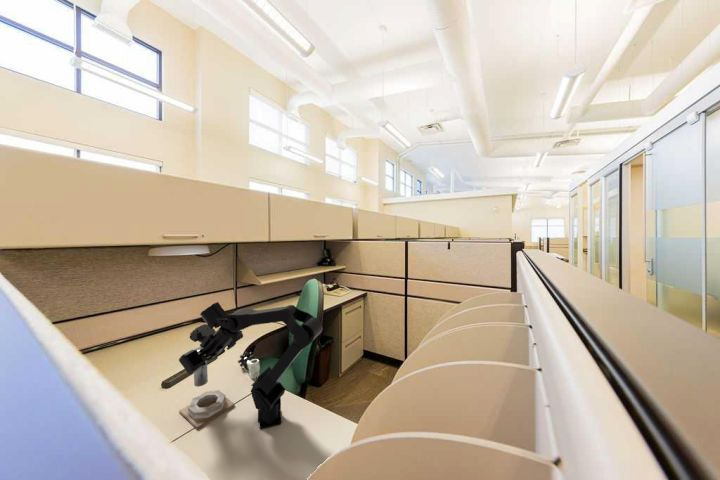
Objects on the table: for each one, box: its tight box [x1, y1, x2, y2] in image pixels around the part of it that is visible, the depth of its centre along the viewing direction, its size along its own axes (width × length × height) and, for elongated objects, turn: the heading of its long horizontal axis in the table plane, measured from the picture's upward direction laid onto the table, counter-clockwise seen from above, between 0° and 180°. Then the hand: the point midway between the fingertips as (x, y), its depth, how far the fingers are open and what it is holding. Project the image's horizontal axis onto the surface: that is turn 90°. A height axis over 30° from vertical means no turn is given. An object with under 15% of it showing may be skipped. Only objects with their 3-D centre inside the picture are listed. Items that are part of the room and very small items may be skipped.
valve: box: [237, 351, 261, 380], centre depth 107 cm, size 7×7×12 cm
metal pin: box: [193, 346, 209, 388], centre depth 89 cm, size 4×4×12 cm
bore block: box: [178, 390, 236, 430], centre depth 86 cm, size 12×12×3 cm
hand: (197, 364), depth 89 cm, fingers closed on metal pin, 4 cm apart
